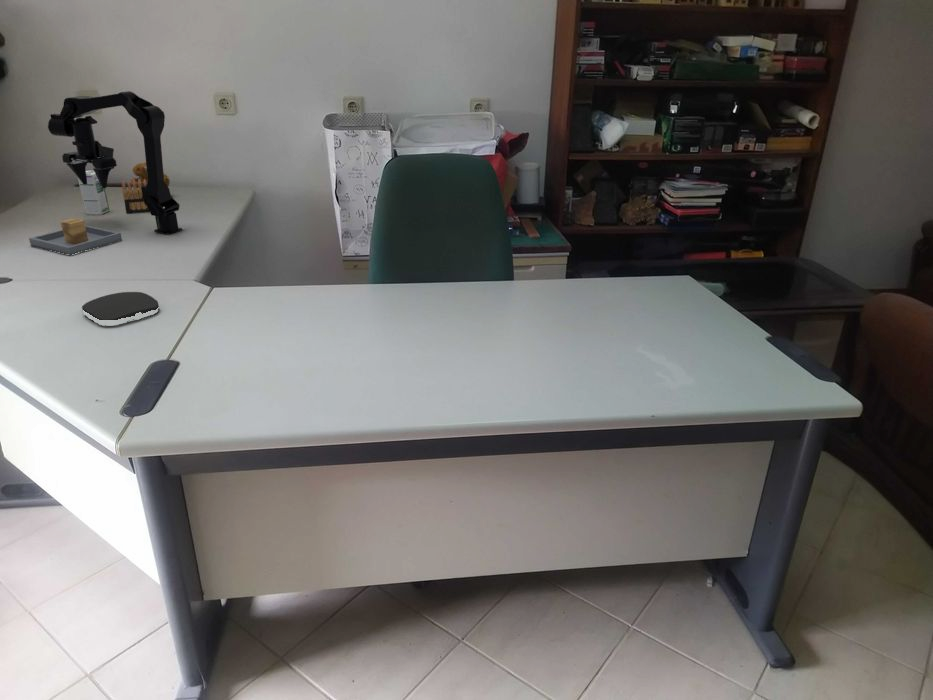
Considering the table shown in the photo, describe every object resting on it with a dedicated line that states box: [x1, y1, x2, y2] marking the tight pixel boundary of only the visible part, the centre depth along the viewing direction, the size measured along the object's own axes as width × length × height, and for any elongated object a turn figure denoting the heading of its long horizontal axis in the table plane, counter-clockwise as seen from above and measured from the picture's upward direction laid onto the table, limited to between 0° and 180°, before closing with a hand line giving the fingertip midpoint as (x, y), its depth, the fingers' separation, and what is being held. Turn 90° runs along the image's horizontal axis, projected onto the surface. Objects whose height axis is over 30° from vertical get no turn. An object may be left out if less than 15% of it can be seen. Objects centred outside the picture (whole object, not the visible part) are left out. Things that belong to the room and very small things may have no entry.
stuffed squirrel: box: [130, 162, 171, 197], centre depth 258 cm, size 10×14×13 cm
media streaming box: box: [81, 291, 160, 320], centre depth 161 cm, size 15×15×3 cm
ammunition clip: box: [121, 178, 150, 215], centre depth 238 cm, size 11×2×12 cm, turn 113°
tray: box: [28, 224, 123, 256], centre depth 206 cm, size 18×18×2 cm
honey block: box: [60, 218, 88, 244], centre depth 205 cm, size 4×4×6 cm
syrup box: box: [77, 170, 111, 216], centre depth 235 cm, size 6×6×14 cm
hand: (94, 186), depth 219 cm, fingers open, 9 cm apart
